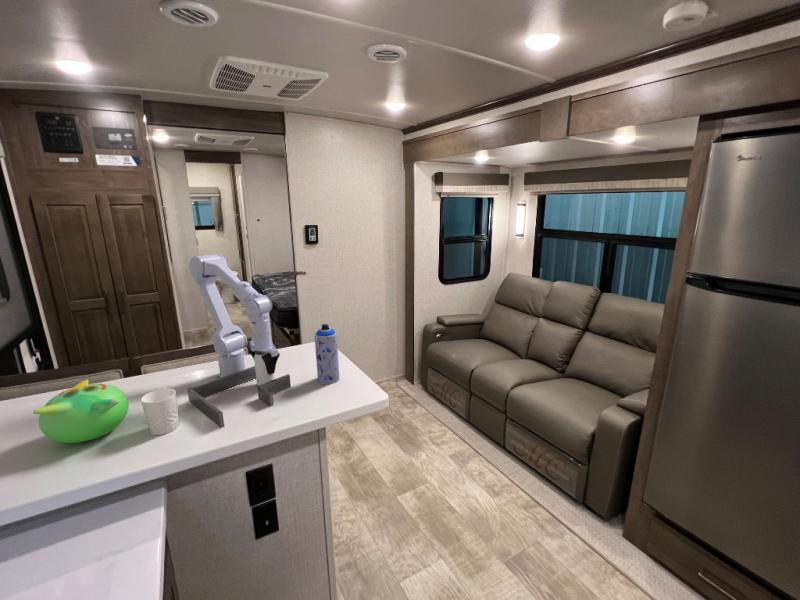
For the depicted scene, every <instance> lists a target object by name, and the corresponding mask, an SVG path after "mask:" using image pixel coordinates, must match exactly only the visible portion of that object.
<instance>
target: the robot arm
mask: <svg viewBox="0 0 800 600" xmlns="http://www.w3.org/2000/svg"><path fill="white" fill-rule="evenodd" d="M188 269H189V271H190V274H191V276H192V278H193V280H194V283H196V284H197V287H198V289H199V292H200V294H201V296H202V299H203V300H204V304H205V306H206V308H207V311H208V313H209V314H210V318H211V320H212V322H213V325H214V327H215V329H216V330H215V331H214V333H213V335H212V336H211V337H212V338H211V339H212V343H213V348H214V351H215V353H216V354H217V355H218V357H217V361H218V367H219V368H218V370H219V373H217V374H216V375H217V377H218V378H221V377H224V376H227V375H230V374H233V373H236V372H239V371H241V370H244V369H246V364H245V363H246V362H245V356H244V351H246V350H245V349H246V347H247V346H248V338H247V336H246V334H245V333H244V331H243V330H242V329H241V327H240V326H238V325H235V324H233V322H232V320H231V318H230V316H229V312H228V311H227V308H226V305H225V304H224V301H223V298H222V296H221V295H220V291H219V290H218V287H217V285H216V282H217V280H218V279H219V278H220V279H221V280H222V281H223V282H224V283H225V284H226V285H228V286H229V287H230V288H232V295H233V296H235V297H236V299H238V300H239V301H240V302H241V303H242V304H243V305H244V306H245V307H244V309H245V312H246V314H247V315H248V320H249V321H250V323H251V332H252V333H251V334H252V339H253V340H250V341H249V346H250V349H249V350H248V353H249V354H250V355H251V357H252V358H253V360H254V356H255V352H256V351H262V352H266V353H267V354H266V355H263V356H261V358H262V359H263V361H264V363H265V365H266V370H267V373H268V375H271V374H273V373H275V367H276V366H277V362H278V359H279V358H280V356H281V353H280V352H279V350H278V349H277V348H276V347H275V345H274V343H273V338H272V328H271V319H270V313H271V311H272V309H273V302H272V300H271V299H270V297H269V296H268V295H266V294H262V293H259V292H258V291H257V290H256V289H255V288H253V286H252V285H250V283H249V282H247V281H244V280H243V281H241V280H240V278H239V277H238V276H237V275H236V274H235V273H234V272H233V270H232V269H230V268H229V266H228V262H227V259H226V258H224V256H223V255H222V254H221V253H218V252H217V253H212V254H205V255H198V256H197V255H194V256H192V257H191V258H190V259H189V264H188ZM276 368H277V367H276Z"/></svg>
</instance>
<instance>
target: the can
mask: <svg viewBox="0 0 800 600" xmlns="http://www.w3.org/2000/svg"><path fill="white" fill-rule="evenodd" d="M266 354H267V353H266V352H262V351H256V352H255V356H254V359H253V361H254V366H255V371H256V379H255V380H256V387H257V386H258V385H261V384H264V383H266V382H269V381H271V380H274V379H277V378H278V377H277V367H275V373H273V374H271V375H268V373H267V370H266V365H265V363H264V361H263V359H262V358H261V356H263V355H266Z"/></svg>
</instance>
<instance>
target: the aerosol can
mask: <svg viewBox="0 0 800 600" xmlns="http://www.w3.org/2000/svg"><path fill="white" fill-rule="evenodd" d="M338 345H339V343H338V333H337V332H336V331H335V330H334V329H333V328H331V327H329V324H326V323H324V324H322V325H321V327H320V328H319V329H318V330H317V331H316V332H315V334H314V346H315V347H314V348H315V359H316V360H315V361H316V362H315V363H316V374H317V379H316V381H317V382H318V383H319V384H321V385H332V384H333V385H334V384H335V383H337V382H339V381H340V379H341V376H340V365H339V363H340V362H339V347H338Z"/></svg>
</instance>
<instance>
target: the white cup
mask: <svg viewBox="0 0 800 600" xmlns="http://www.w3.org/2000/svg"><path fill="white" fill-rule="evenodd" d="M177 399H178V398H177V394H176V390H175V389H173V388H160V389H156V390H155V389H154V390H152V391H150V392H148V393H146V394H144V395H142V397H141V399H140V401H141V406H142V409H143V413H144V416H145V420H146V423H147V426H148V429H149V433H150V435H153V436H162V435H166V434H169V433H171V432H173V431H174V430H176V429H177V428H178V427H179V426H180V423H179V410H178V400H177Z"/></svg>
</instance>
